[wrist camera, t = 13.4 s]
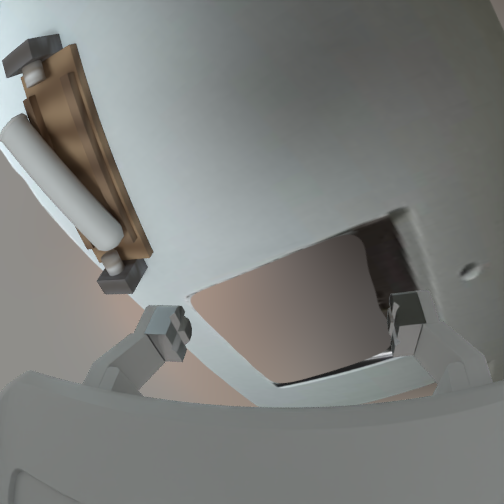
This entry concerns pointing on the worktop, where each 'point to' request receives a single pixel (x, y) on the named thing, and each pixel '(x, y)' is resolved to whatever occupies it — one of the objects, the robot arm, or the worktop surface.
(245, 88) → the worktop surface
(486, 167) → the worktop surface
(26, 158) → the tube
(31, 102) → the shaft bed
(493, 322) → the worktop surface
